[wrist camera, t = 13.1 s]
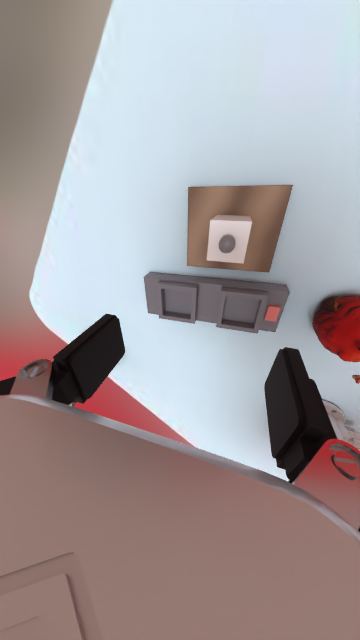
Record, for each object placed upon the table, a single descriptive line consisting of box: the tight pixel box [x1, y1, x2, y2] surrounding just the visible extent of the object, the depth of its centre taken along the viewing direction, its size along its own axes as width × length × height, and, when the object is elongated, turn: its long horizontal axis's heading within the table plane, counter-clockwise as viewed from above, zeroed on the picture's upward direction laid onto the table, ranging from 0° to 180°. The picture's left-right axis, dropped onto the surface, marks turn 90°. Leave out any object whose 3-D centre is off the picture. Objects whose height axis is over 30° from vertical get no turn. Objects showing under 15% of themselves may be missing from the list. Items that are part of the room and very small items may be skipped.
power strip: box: [144, 272, 289, 333], centre depth 30 cm, size 22×7×4 cm, turn 91°
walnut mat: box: [187, 185, 293, 272], centre depth 25 cm, size 12×10×1 cm
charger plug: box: [207, 215, 252, 264], centre depth 21 cm, size 4×4×8 cm
